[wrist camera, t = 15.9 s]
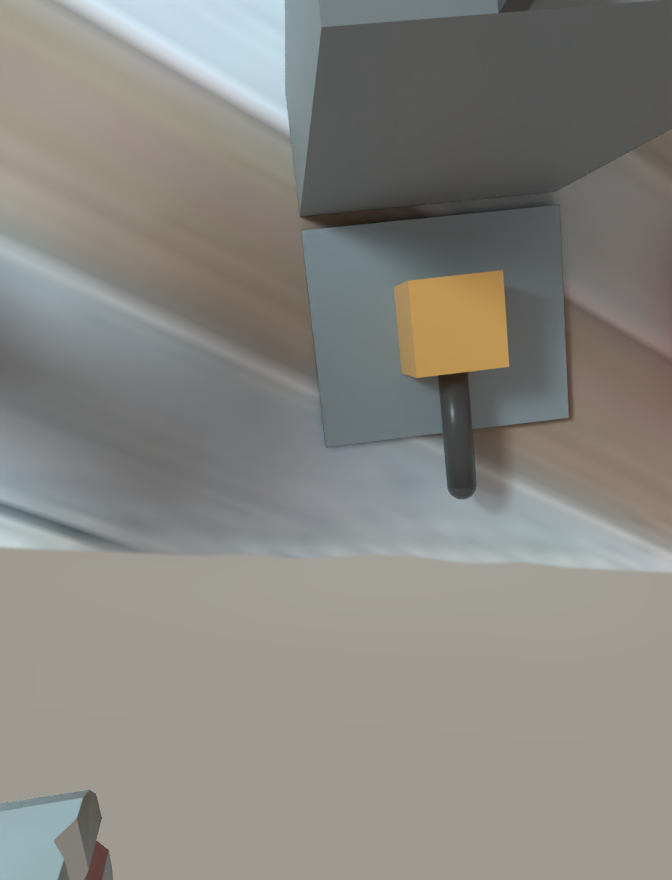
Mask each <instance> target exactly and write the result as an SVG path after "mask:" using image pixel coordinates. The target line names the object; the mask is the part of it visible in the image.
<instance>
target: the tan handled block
mask: <svg viewBox="0 0 672 880" xmlns="http://www.w3.org/2000/svg"><path fill="white" fill-rule="evenodd" d="M394 296H395V306H396V317H397V327H398V338H399V348H400V359H401V369H402V374H405V375H409V376H412V377H415V378H421V377H429V376H438V382H439V394H440V406H441V418H442V430H443V441H444V453H445V465H446V477H447V487H448V490H449V492H450V494H451V495H452V496H453V497H455V498H458V499H467V498H469V497H471V496H472V495H473V494H474V492H475V490H476V471H475V458H474V445H473V432H472V418H471V405H470V392H469V379H468V372H471V371H479V370H487V369H495V368H503V367H509V355H508V340H507V324H506V308H505V293H504V277H503V270H499V271H490V272H481V273H472V274H463V275H454V276H445V277H436V278H427V279H418V280H409V281H406V282H404V283H402V284H400V285H397V286H395V287H394Z"/></svg>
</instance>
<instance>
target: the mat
mask: <svg viewBox="0 0 672 880" xmlns="http://www.w3.org/2000/svg"><path fill="white" fill-rule="evenodd" d="M301 233H302V241H303V250H304V259H305V268H306V277H307V285H308V294H309V303H310V312H311V321H312V330H313V338H314V347H315V356H316V365H317V374H318V382H319V391H320V400H321V409H322V418H323V426H324V435H325V444H326V447H332V446H341V445H349V444H357V443H365V442H373V441H382V440H390V439H398V438H406V437H414V436H423V435H431V434H439V433H443V430H442V418H441V406H440V394H439V382H438V376H429V377H421V378H415V377H412V376H409V375H405V374H402V369H401V359H400V348H399V338H398V327H397V317H396V306H395V296H394V287H395V286H397V285H400V284H402V283H404V282H406V281H409V280H418V279H427V278H436V277H445V276H454V275H463V274H472V273H481V272H490V271H499V270H503V277H504V293H505V308H506V324H507V340H508V355H509V367H503V368H495V369H487V370H479V371H471V372H468V379H469V392H470V405H471V418H472V429H480V428H488V427H496V426H505V425H513V424H521V423H529V422H538V421H546V420H554V419H562V418H569V413H568V389H567V366H566V342H565V318H564V295H563V271H562V247H561V224H560V205H551V206H541V207H531V208H521V209H511V210H501V211H491V212H481V213H471V214H461V215H451V216H441V217H431V218H421V219H411V220H401V221H391V222H381V223H371V224H361V225H351V226H341V227H331V228H321V229H311V230H302V231H301Z"/></svg>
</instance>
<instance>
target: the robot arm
mask: <svg viewBox="0 0 672 880" xmlns="http://www.w3.org/2000/svg"><path fill="white" fill-rule="evenodd" d="M101 819H102V817H101V812H100V809H99V804H98V800H97V796H96V794H95V793H93V792H92V791H90V790H85V791H79V792H73V793H66V794H59V795H53V796H46V797H39V798H33V799H26V800H20V801H13V802H7V803H0V880H113V874H112V865H111V860H110V854H109V850H108V849H107V848H105V847H104V846H103V845H101V844H100V843H99V842H98V841H96V839H97V835H98V831H99V827H100V823H101Z"/></svg>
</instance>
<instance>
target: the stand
mask: <svg viewBox="0 0 672 880" xmlns="http://www.w3.org/2000/svg"><path fill="white" fill-rule="evenodd" d="M285 92H286V100H287V109H288V118H289V127H290V136H291V144H292V153H293V162H294V171H295V180H296V188H297V197H298V206H299V215H300V217H302V216H312V215H322V214H332V213H342V212H352V211H363V210H373V209H383V208H393V207H403V206H413V205H424V204H434V203H444V202H454V201H464V200H474V199H485V198H495V197H505V196H515V195H525V194H535V193H546V192H555V191H557V190H559V189H561V188H563V187H565V186H566V185H568V184H570V183H572V182H574V181H576V180H578V179H579V178H581V177H583V176H585V175H587V174H589V173H591V172H592V171H594V170H596V169H598V168H600V167H602V166H604V165H605V164H607V163H609V162H611V161H613V160H615V159H617V158H618V157H620V156H622V155H624V154H626V153H628V152H630V151H631V150H633V149H635V148H637V147H639V146H641V145H643V144H644V143H646V142H648V141H650V140H652V139H654V138H656V137H657V136H659V135H661V134H663V133H665V132H667V131H669V130H670V129H672V0H285Z"/></svg>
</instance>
